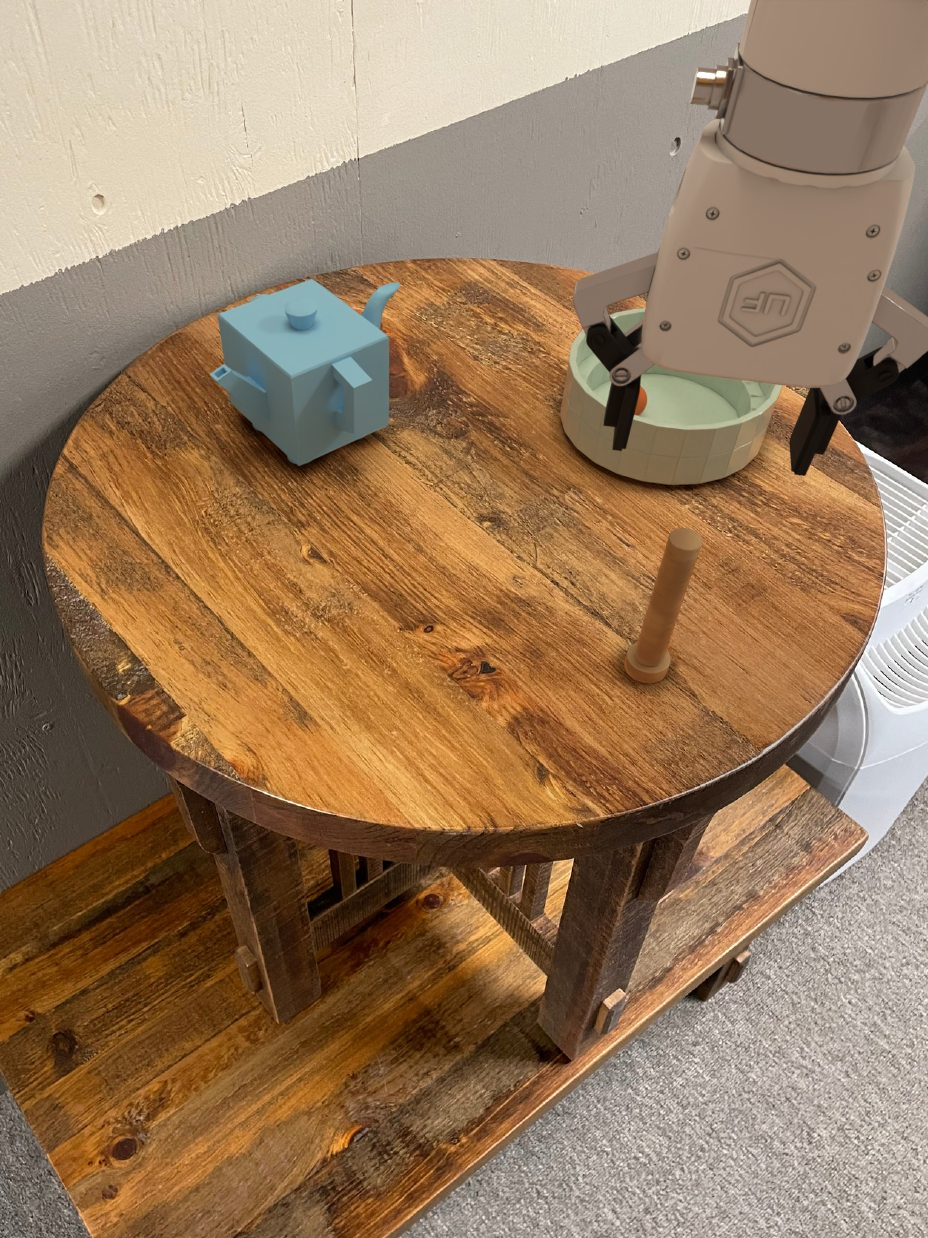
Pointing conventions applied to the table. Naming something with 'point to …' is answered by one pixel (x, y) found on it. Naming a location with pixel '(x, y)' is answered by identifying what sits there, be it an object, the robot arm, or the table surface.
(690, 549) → the rod
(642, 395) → the ball
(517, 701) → the table surface
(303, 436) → the teapot
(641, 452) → the bowl
